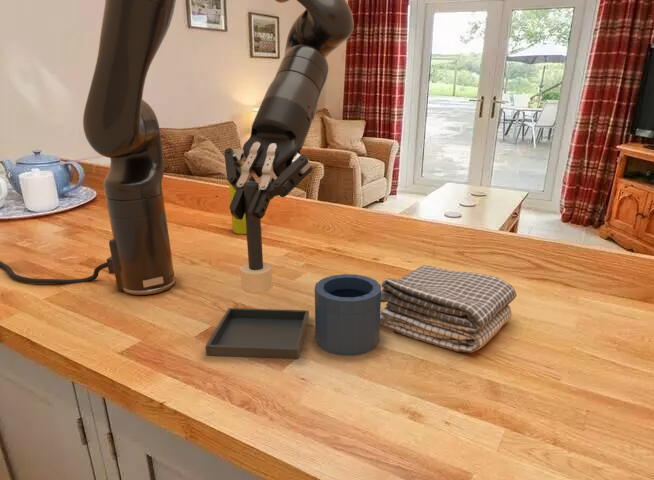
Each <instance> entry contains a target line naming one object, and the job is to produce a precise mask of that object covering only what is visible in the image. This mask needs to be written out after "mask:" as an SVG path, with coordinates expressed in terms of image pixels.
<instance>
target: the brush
mask: <svg viewBox="0 0 654 480" xmlns="http://www.w3.org/2000/svg"><path fill="white" fill-rule="evenodd" d="M259 185H260V184H258V183H256V182H247V183H244V184H243V187H244V202H245V217H246V232H247V234H246V246H247V247H246V248H247V259H248V261H247V262H248V263H245V264H243V265H241V266H240V268H239V269H240V286H241V289H242V291H243V292H245V293H250V294H261V293H266V292H269V291H271V290H272V288H273V286H274V285H273V267H272V265H271V264H269V263H267V262H264V255H263V237H262V219H261V218H260V220H259V222H253V221H252V220H251V219H250V218H249V217H248V215H247V212H248V209H249V207H250V204H251V202H252V199H253V197H254V195H255V192H256V190H260V188H259Z"/></svg>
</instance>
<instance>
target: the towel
mask: <svg viewBox="0 0 654 480" xmlns="http://www.w3.org/2000/svg"><path fill="white" fill-rule="evenodd" d="M516 298H517V292H516V290H515V288H514V286H512V284H510V283H509V282H507V281H506V280H503V279H501V278H500V277H497V276H494V275H488V274H484V273H477V272H471V271H470V272H467V271H456V270H450V269H446V268H441V267H436V266H432V265H421V266H420V267H418V268H415V269H414V270H412V271H410V272H408V274H407V273H406V274H405V275H404V276H402V277H401V278H400V279H395V278H384V280H383V281H382V282H381V303H386V306H385V307H384V308H383V309H380V327H384V328H387V329H389V330H392V331H393V332H396V333H398V334H402V335H404V336H407V337H409V338H413V339H415V340H419V341H421V342H425V343H428V344H431V345H435V347H441V348H444V349H448V350H452V351H454V352H463V353H474V352H476V351H477V350H480V348H483V347H484V346H485V345H486V344H487V343H488V342H489V341H490V340H491V339H492V338H493V337H494V336H495V335H496V334H497V333H498V332H499V331H500V330H501V329H502V327H503V326H504V325H505V324H506V323H507V322H509V321H510V320H511V319H512V317H513V312H512V307H511V305H510V304H511V303H512V302H513V301H514V300H515V299H516Z"/></svg>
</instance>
